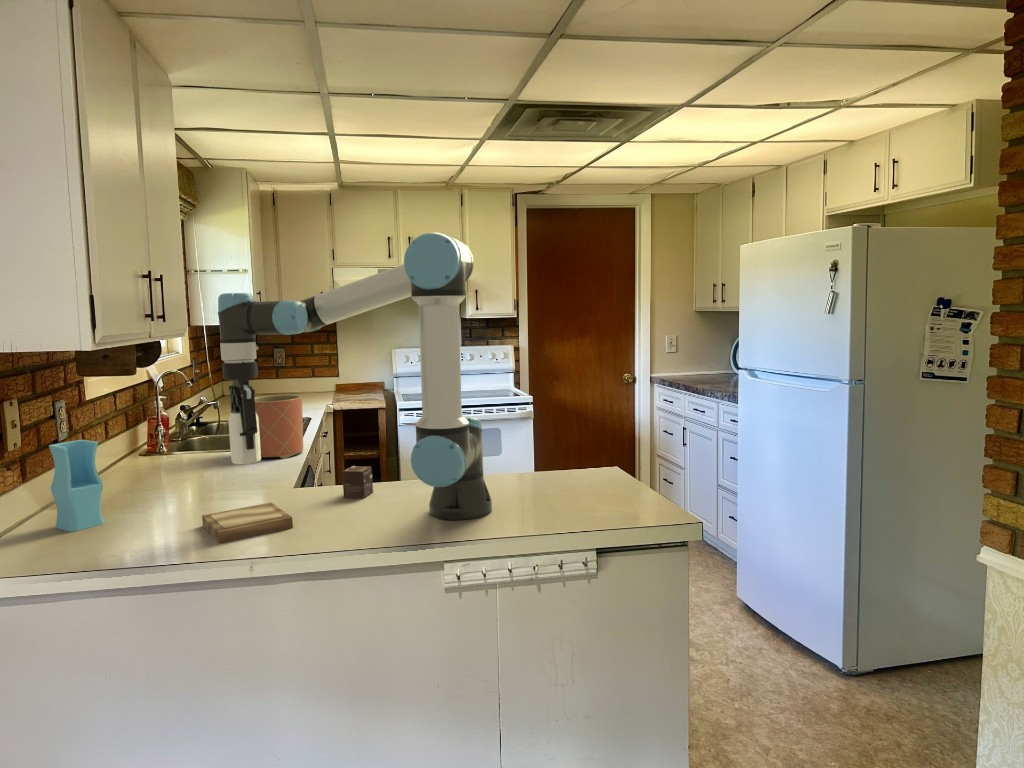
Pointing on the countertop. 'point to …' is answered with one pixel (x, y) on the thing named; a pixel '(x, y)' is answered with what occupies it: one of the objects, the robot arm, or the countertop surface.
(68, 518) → the vase
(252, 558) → the countertop surface
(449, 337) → the robot arm
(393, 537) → the countertop surface
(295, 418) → the planter
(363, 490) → the box
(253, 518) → the board
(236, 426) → the can
